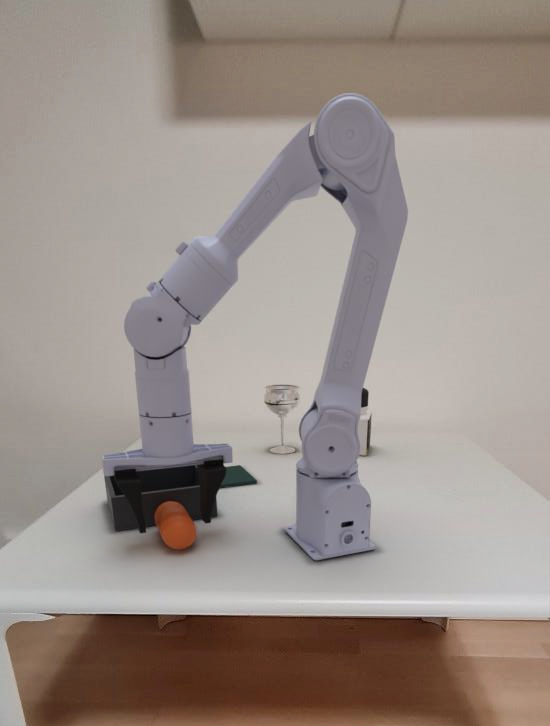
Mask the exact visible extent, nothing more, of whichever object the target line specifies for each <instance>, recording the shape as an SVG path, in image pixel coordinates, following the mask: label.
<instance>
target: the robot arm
mask: <svg viewBox="0 0 550 726" xmlns="http://www.w3.org/2000/svg"><path fill="white" fill-rule="evenodd" d="M312 123H313V122H312V120H310V121H308V122H307V123H306V124H305V125H304V126H303V127H301V128H300V129H299V130H298V131H297V132H296V133H295V134H294V135H293V137H292V138H291V139H290V140H289V142H288V143H287V144H286V145H285V146H284V147H283V148H282V149H281V150H280V152H278V154H277V155H276V156H275V158H274V159H273V160H272V162H271V163H270V164H269V165H268V167H266V169H265V170H264V172H263V173H262V174H261V176H260V177H259V178H258V179H257V180H256V182H254V185H252V187H251V188H250V190H248V192H247V193H246V194H245V196H244V197H243V199H242V200H241V201H240V202H239V203H238V205H237V206H236V207H235V209H234V210H233V211H232V212H231V214H230V215H229V217H227V219H226V220H225V221H224V223H222V225H221V227H220V228H219V229H218V230H217V232H216V233H215V234H214V235H211V236H209V235H208V236H207V235H198V236H195V237H194V238H193V239H192V240H191V241H190V242H189V243H188V242H187V241H184V240H182V241H181V242H180V244H178V245H177V247H176V249H175V253H177V255H179V256H178V257H177V258H176V259H175V260H174V262H173V263H172V264H171V265H170V266H169V268H168V269H166V271H165V272H164V273H163V274H162V275H161V277H160V278H159V280H157V282H156V281H155V280H154V281H152V280H151V281H150V282H149V284H148V285H147V286H146V291H148V292H149V294H150V295H146V296H141V297H139V298H136V299H135V300H132V302H131V304H130V307H129V309H128V310H127V312H126V314H125V317H124V322H123V323H124V324H123V330H124V334H125V337H126V339H127V341H128V343H129V345H130V346H131V347H132V348H133V358H134V359H133V361H134V369H135V370H134V377H135V378H134V379H135V388H136V390H135V391H136V399H137V400H136V401H137V408H138V417H139V429H140V439H141V448H138V449H137V448H136V449H133V450H127V451H122V452H115V453H109V454H102V455H100V457H101V463H102V464H101V465H102V471H103V477H104V476H105V477H106V476H115V479H116V482H117V484H118V486H119V488H120V489H121V491H122V492H123V494H124V495H125V497H126V499H127V500H128V502H129V504H130V506H131V508H132V510H133V512H134V514H135V517H136V521H137V526H138V528H137V529H138V532H139V534H145V533H147V527H146V525H145V519H144V514H143V508H142V496H141V483H140V480H139V476H138V474H137V471H144V470H153V469H163V468H172V467H181V466H190V465H197V469H198V476H199V484H200V511H201V518H202V519H201V520H202V521H203V523H204V524H211V522H212V517H211V515H212V510H213V505H214V502H215V498H217V496H218V492H219V490H220V489H221V488H220V486H221V484H222V482H223V480H224V478H225V476H226V467H227V466H225V465H224V464H232V463H234V461H233V447H232V446H231V445H230V444H229V443H228V442H227V443H203V444H202V443H197V444H194V430H193V429H194V428H193V415H192V403H191V402H192V399H191V385H190V383H191V382H190V372H189V369H188V362H187V361H188V359H187V348H186V345H187V343H188V342H189V341H190V340H189V339H190V337H191V334H192V325H193V326H198V325H200V324H201V323H203V320H204V319H205V318H206V317H207V316H208V315H209V314H210V313H211V311H212V310H213V309H214V308H215V307H216V305H218V304H219V302H220V301H221V300H222V299H223V298H224V296H226V294H227V293H229V291H230V290H231V288H232V287H234V285H235V284H236V283H237V282H238V280H239V268H238V262H239V259H240V258H241V257H242V256H243V255H244V254H245V253H246V252H247V250H248V249H249V248H251V246H252V245H253V244H254V243H255V241H257V240H258V239H259V237H260V236H261V235H262V234H263V233H264V232H265V231H266V230H267V229H268V228H269V227H270V226H271V225H272V223H273V222H274V221H275V220H276V219H277V218H278V217H279V216H280V215H281V214H282V213H283V212H284V211H285V209H286V208H287V207H288V206H289V205H290V204H291V203H293V202H295V201H299V200H304V199H309V198H314V197H316V196H318V194H319V191H320V189H321V188H322V190H324V191H325V192H326V193H327V194H329V195H330V196H331V197H332V198H334V199H335V200H336V201H337V202H338V203H340V206H341V207H342V208H343V210H344V213H346V215H347V217H348V218H349V220H350V222H351V223H352V225H353V227H354V229H355V233H354V237H353V241H352V245H351V250H350V254H349V259H348V263H347V267H346V272H345V276H344V280H343V284H342V287H341V292H340V296H339V300H338V304H337V308H336V313H335V316H334V321H333V326H332V330H331V334H330V338H329V343H328V346H327V351H326V354H325V359H324V364H323V366H322V372H321V375H320V379H319V382H318V384H317V387H316V390H315V392H314V396H313V400H312V403H311V405H310V406H309V408H308V409H307V411H306V412H305V413H304V414H303V416H302V417H301V419H300V422H299V425H298V426H299V427H298V435H299V439H300V442H301V455H302V456H301V458H300V459H299V460H298V461H297V462H296V465H295V467H296V469H295V473H296V475H295V481H296V482H295V490H296V491H295V509H296V510H295V512H296V513H295V524H292V525H286V526H284V532H285V533H286V534H287V535H289V536H290V538H292V540H293V541H294V542H296V544H297V545H298V546H299V547H300V548H301V549H302V550H303V551H304V552H305V553H306V554H307V555H308V556H309V557H310V558H311V559H312V560H314V561H320V560H326V559H332V558H336V557H341V556H347V555H350V554H351V555H352V554H358V553H362V552H367V551H372V550H375V549H376V544H375V543H374V542H372V540H370V534H371V533H370V531H371V529H370V528H371V513H372V500H371V496H370V493H369V492H368V490H367V489H366V487H364V486H363V484H362V483H361V480H360V478H359V463H358V459H359V456H360V455H359V453H360V441H359V436H358V423H359V419H360V415H361V394H362V389H363V388H364V384H365V381H366V377H367V373H368V370H369V367H370V363H371V358H372V354H373V351H374V348H375V343H376V339H377V336H378V332H379V329H380V324H381V321H382V316H383V313H384V311H385V306H386V303H387V298H388V295H389V292H390V287H391V283H392V280H393V276H394V273H395V268H396V264H397V260H398V258H399V253H400V249H401V246H402V242H403V238H404V235H405V231H406V227H407V223H408V217H409V209H408V203H407V199H406V194H405V190H404V186H403V181H402V177H401V173H400V169H399V165H398V161H397V156H396V144H395V143H396V142H395V141H396V140H395V133H394V131H393V130H392V128H391V127H390V125H389V124H388V122H387V121H386V119H385V117H384V116H383V114H382V113H381V112H380V110H379V108H378V107H377V106H376V104H375V103H374V102H373V101H371V100H370V99H369V98H368V97H366V96H364V95H362V94H360V93H355V92H346V93H342V94H341V93H340V94H339V95H336V96H334V97H333V98H331V99H330V100H329V101H327V102H326V104H325V105H323V107H322V109H321V110H320V112H319V114H318V115H317V117H316V120H315V124H314V128H313V129H314V130H313V134H312V135H310V132H311V126H312Z"/></svg>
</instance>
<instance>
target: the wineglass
mask: <svg viewBox="0 0 550 726" xmlns="http://www.w3.org/2000/svg"><path fill="white" fill-rule="evenodd" d="M263 388H264V390H265V394H264V396H263V402H264V404H265V407H266V408H267V410H269V411H270V412H271V413H272V414H275V415H277V417H278V418H279V423H280V439H281V440H280V441H281V445H279V446H275V447H271V448H269V452H271V453H273V454H280V455H281V454H282V455H283V454H291V453H295V452H296V449H295V448H294V447H291V446H286V445H284V444H285V418H287V416H288V415H290V414H292V413H294V412H295V411H296V410H297V409H298V408H299V405H300V403H301V394H300V393H299V391H300V389H301V386H299V385H295V384H270V385H265V386H264V387H263Z"/></svg>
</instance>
